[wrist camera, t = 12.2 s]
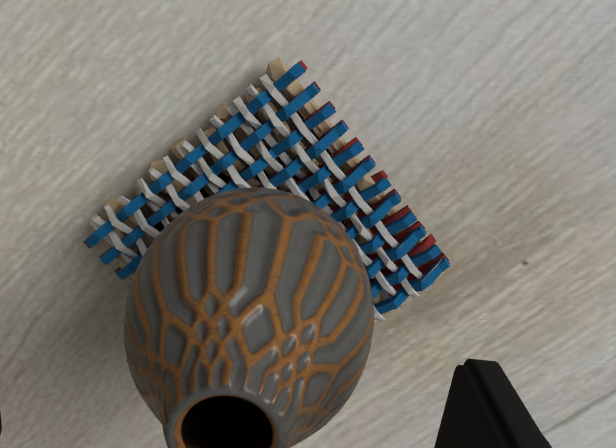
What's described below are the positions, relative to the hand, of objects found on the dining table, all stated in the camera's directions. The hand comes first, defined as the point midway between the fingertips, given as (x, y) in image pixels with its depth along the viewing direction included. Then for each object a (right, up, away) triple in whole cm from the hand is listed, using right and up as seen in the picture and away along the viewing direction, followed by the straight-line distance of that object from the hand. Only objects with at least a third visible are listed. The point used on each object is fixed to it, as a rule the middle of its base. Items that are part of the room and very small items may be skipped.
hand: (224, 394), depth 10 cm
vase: (0, +2, +8) cm, 8 cm away
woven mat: (0, +3, +10) cm, 10 cm away
